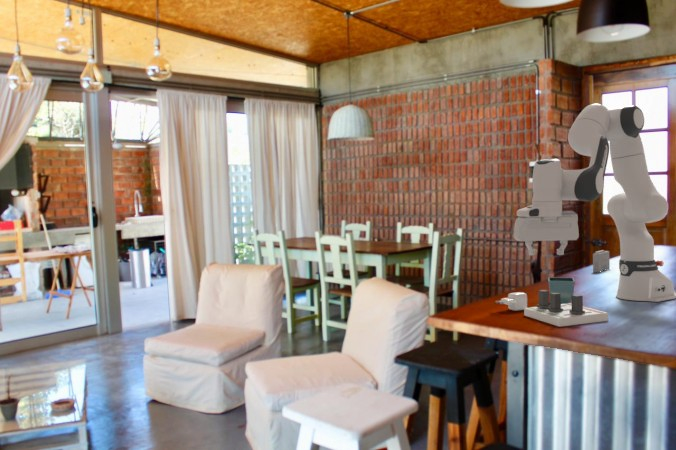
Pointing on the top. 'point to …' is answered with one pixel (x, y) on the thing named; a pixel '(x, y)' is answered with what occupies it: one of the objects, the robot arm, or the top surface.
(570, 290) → the flower pot
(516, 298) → the power adapter
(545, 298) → the far handle
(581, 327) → the top surface
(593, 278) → the top surface
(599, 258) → the cassette player
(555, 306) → the middle handle
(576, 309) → the handle
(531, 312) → the panel
